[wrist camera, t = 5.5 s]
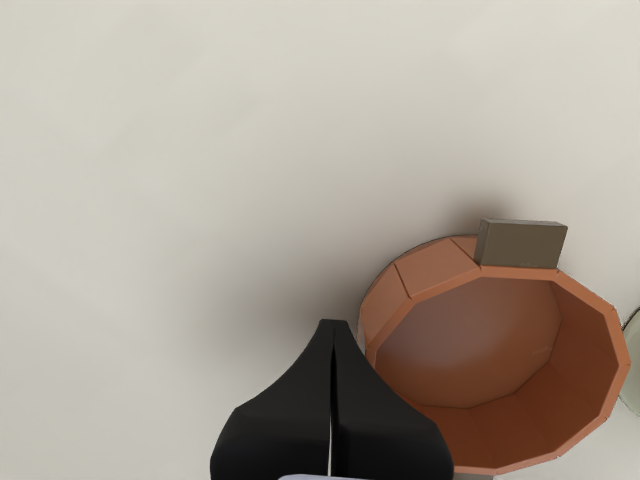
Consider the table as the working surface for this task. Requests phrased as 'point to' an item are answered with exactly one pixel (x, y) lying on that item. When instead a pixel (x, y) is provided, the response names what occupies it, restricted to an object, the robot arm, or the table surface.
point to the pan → (496, 345)
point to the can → (632, 366)
